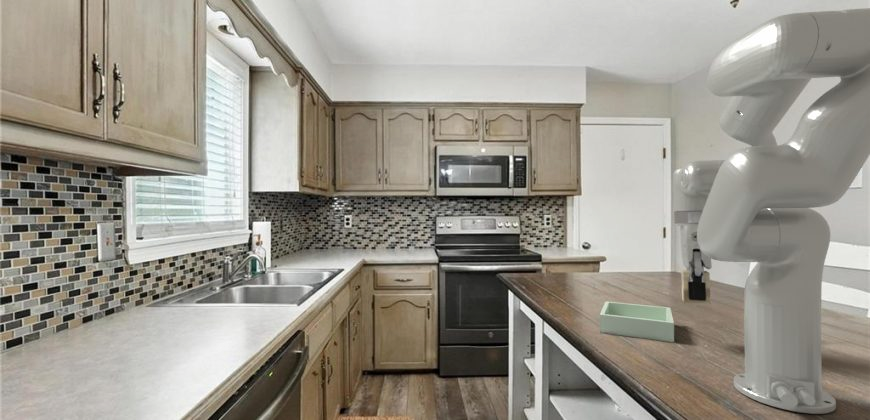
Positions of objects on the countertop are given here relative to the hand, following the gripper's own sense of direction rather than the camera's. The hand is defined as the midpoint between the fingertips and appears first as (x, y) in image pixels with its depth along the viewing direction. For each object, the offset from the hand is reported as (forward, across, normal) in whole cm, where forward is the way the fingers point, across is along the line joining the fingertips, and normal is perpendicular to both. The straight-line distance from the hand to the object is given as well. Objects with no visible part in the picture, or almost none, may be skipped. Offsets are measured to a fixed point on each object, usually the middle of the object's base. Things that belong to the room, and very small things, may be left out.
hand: (695, 297), depth 90 cm
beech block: (+1, 0, 0) cm, 1 cm away
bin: (+10, +7, +13) cm, 17 cm away
